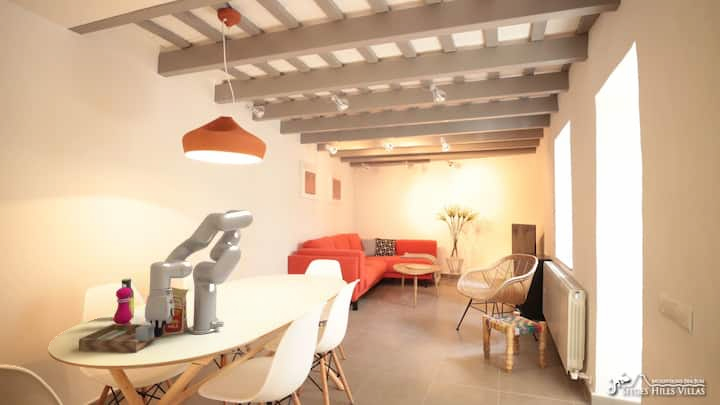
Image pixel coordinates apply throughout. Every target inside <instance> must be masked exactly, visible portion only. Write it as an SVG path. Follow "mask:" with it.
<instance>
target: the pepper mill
mask: <svg viewBox="0 0 720 405" xmlns="http://www.w3.org/2000/svg"><path fill="white" fill-rule="evenodd" d="M115 292H116V293H115V296H116V298H117V299H116V300H117V301H116V303H117V309H116V311H115V313H114V314H113V322H114V324H132V322H131V321H132V319H133V318H132V313H131V311H130V308H129V301H130V297H129V296H130V295H131V290H130V289H129V288H126V285H125V284H123V285H122V284H121V288H119V289H118V290H116V291H115Z"/></svg>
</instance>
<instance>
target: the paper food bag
mask: <svg viewBox="0 0 720 405" xmlns="http://www.w3.org/2000/svg"><path fill="white" fill-rule="evenodd" d="M171 290H173V293H170V294H172V296H173V301H174V316H173V317H172V322H170V323H166V324H165V325H164V336H166V335H169V336H170V335H178V334H183V333H185V332H186V331H187V330H188V329H189V328H188V318H187V294H188V291H189V289H183V288H177V287H173V286H172V287H171Z"/></svg>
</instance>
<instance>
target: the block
mask: <svg viewBox="0 0 720 405" xmlns="http://www.w3.org/2000/svg"><path fill="white" fill-rule="evenodd" d="M140 325H141V326H139V327H137V328H136V334H135V340H138V341H148V340H150V339H152V338H153V337H154V328H153V326H152V324H151V323H150V324H149V323H148V324H147V323H144V324H140Z"/></svg>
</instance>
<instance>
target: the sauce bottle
mask: <svg viewBox="0 0 720 405" xmlns="http://www.w3.org/2000/svg"><path fill="white" fill-rule="evenodd" d="M123 284H125V285H126V288H129V289H130V290H131V295H130V296H129V297H130V301H129V308H130V311H131V313H132V319H133V318H134V317H135V296H134V294H135V292H134V290H133V288H132V285H131V284H132V278H123V279H121V286H122V285H123Z"/></svg>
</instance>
